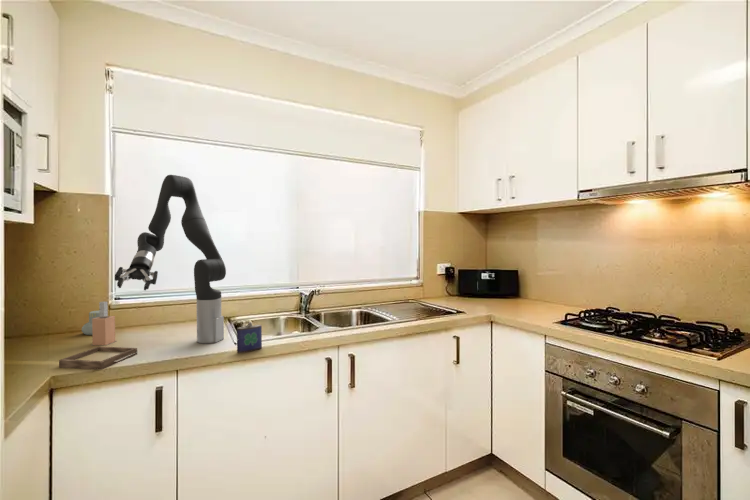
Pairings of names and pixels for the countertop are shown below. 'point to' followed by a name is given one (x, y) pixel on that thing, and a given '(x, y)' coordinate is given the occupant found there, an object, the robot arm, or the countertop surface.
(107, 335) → the collar
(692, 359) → the countertop surface
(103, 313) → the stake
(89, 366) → the tray
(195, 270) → the robot arm
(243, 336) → the flask
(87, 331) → the air freshener
